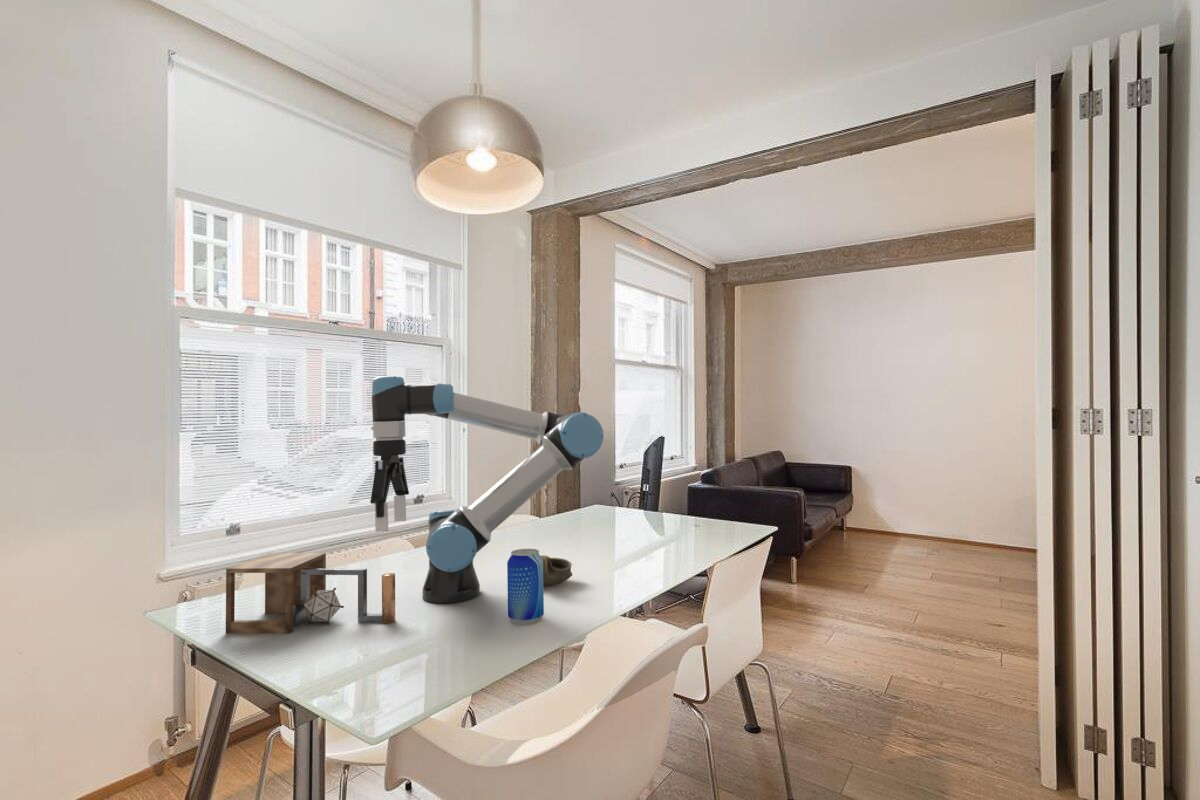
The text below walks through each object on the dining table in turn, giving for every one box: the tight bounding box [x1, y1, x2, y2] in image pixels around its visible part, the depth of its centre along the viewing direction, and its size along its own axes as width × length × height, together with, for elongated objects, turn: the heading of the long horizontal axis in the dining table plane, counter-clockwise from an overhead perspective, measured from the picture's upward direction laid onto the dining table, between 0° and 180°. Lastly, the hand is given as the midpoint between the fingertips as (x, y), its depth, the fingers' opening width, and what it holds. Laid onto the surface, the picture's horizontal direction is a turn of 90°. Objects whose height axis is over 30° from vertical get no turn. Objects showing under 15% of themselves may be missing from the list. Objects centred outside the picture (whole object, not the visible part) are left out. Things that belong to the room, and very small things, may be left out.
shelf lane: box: [225, 552, 327, 634], centre depth 139 cm, size 15×15×14 cm
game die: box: [299, 587, 345, 626], centre depth 137 cm, size 9×8×10 cm
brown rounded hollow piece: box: [540, 554, 573, 587], centre depth 166 cm, size 14×18×10 cm
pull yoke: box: [293, 567, 396, 628], centre depth 138 cm, size 23×10×12 cm, turn 84°
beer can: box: [506, 548, 545, 626], centre depth 137 cm, size 8×8×16 cm
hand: (391, 526), depth 142 cm, fingers open, 13 cm apart
